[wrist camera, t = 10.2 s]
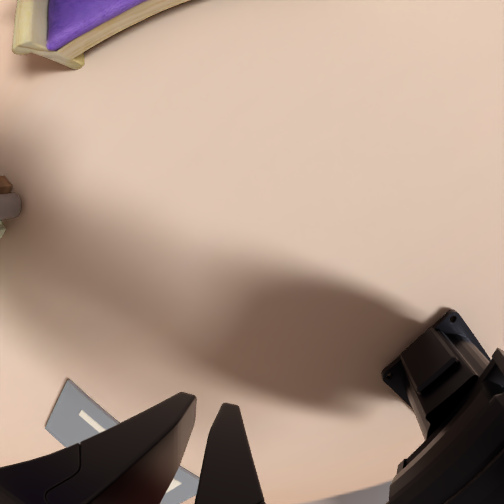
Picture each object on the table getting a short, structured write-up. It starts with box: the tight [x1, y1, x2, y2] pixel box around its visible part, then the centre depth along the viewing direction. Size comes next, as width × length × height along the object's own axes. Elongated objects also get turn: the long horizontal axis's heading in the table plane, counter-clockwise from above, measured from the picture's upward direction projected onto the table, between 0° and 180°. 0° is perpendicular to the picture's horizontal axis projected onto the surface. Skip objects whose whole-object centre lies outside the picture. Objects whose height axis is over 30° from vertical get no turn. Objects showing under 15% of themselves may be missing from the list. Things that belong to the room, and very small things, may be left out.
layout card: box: [45, 379, 200, 504], centre depth 25 cm, size 16×11×1 cm
